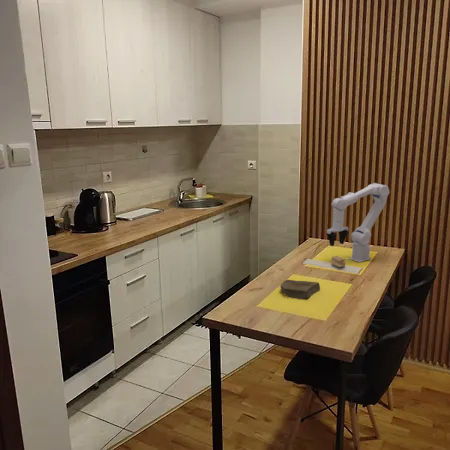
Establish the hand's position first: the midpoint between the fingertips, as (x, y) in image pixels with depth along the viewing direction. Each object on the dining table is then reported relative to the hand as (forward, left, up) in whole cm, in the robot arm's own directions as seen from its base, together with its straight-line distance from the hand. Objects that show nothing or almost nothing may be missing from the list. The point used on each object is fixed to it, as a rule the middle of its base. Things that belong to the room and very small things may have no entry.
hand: (336, 244), depth 233 cm
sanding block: (+7, +8, -9) cm, 14 cm away
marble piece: (+47, +22, -10) cm, 53 cm away
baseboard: (+8, +5, -11) cm, 15 cm away
